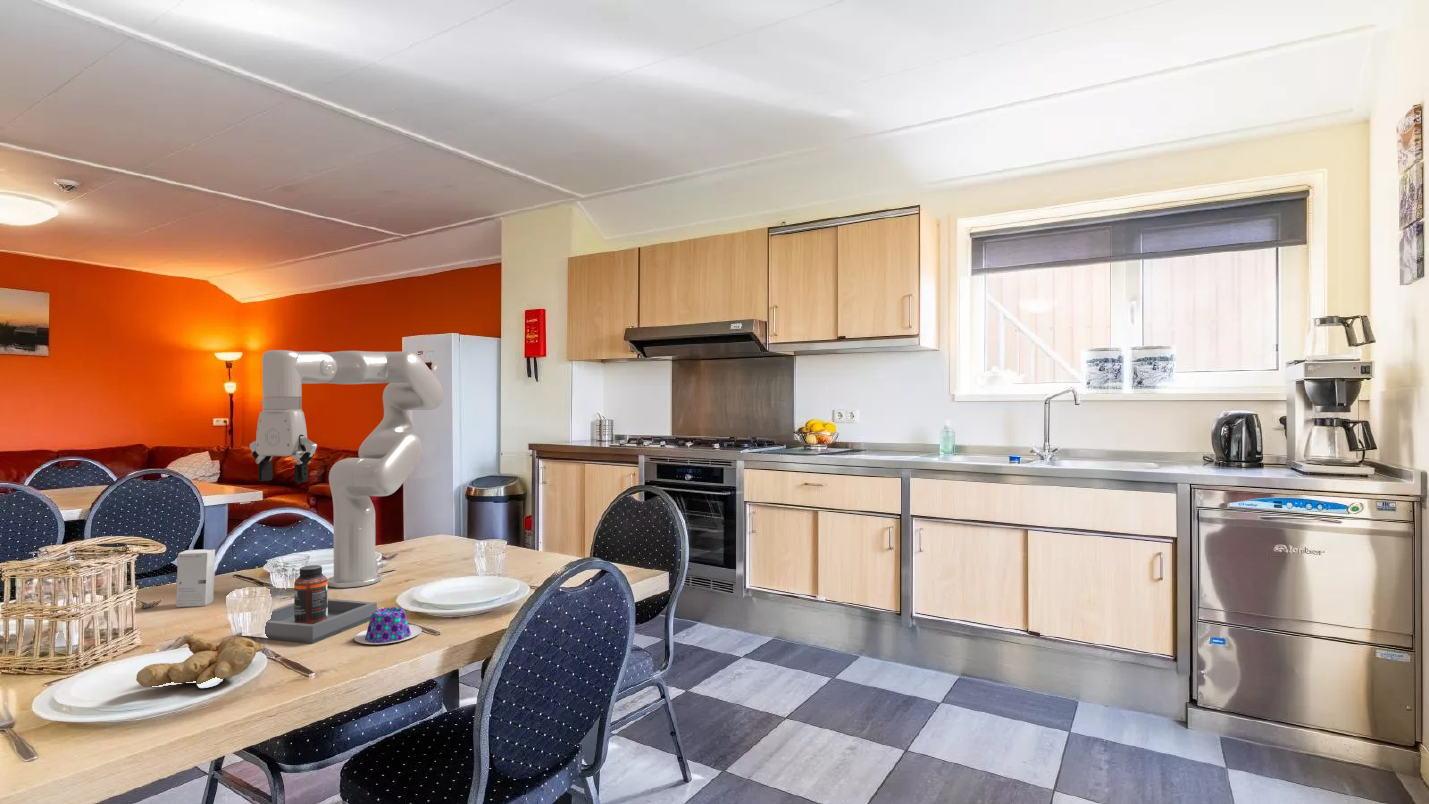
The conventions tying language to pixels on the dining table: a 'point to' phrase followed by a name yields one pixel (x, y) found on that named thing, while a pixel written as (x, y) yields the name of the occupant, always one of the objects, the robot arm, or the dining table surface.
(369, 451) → the robot arm
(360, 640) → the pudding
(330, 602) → the tray
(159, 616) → the dining table surface
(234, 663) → the ginger root
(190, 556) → the skincare box
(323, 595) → the supplement bottle
